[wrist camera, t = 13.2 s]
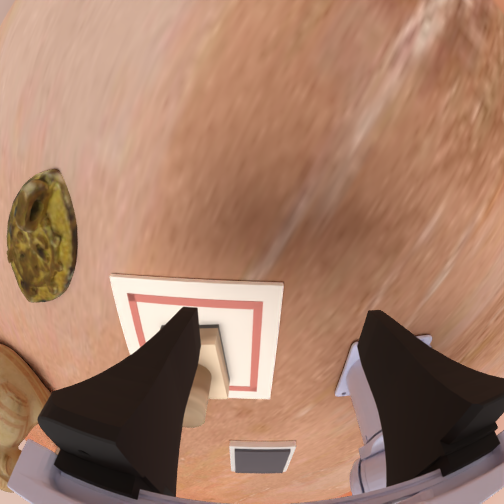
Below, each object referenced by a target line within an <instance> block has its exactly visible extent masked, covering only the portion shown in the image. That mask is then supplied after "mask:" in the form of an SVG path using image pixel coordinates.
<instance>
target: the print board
mask: <svg viewBox="0 0 504 504" xmlns="http://www.w3.org/2000/svg"><path fill="white" fill-rule="evenodd" d="M109 277H110V282H111V286H112V291H113V295H114V299H115V303H116V307H117V311H118V315H119V319H120V322H121V326H122V330H123V333H124V336H125V340H126V343H127V346H128V349H129V353H130V355H131V354H133V353H134V352H135V351H137V350H138V349H139V348H140V347H141V346H143V345H144V344H145V343H146V342H147V341H148V340H150V339H151V338H152V337H153V336H154V335H155V334H156V333H157V332H158V331H159V330H160V328H161V326H162V325H165V324H166V323H167V322H168V321H169V320H170V319H171V318H172V317H173V316H174V315H175V314H176V313H177V312H178V311H179V310H180V309H181V308H182V307H196V308H198V318H199V325H212V324H219V328H220V334H221V339H222V344H223V349H224V354H225V358H226V363H227V368H228V373H229V377H230V384H229V394H228V398H245V399H270V395H271V388H272V380H273V373H274V365H275V357H276V349H277V341H278V333H279V324H280V315H281V306H282V297H283V287H284V285H283V282H252V281H227V280H205V279H186V278H168V277H152V276H137V275H124V274H111V275H110V276H109Z"/></svg>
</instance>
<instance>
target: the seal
mask: <svg viewBox="0 0 504 504" xmlns="http://www.w3.org/2000/svg"><path fill="white" fill-rule="evenodd" d="M7 247H8V251H7V255H8V257H7V258H8V262H9V263H10V262H11V266H12V269H13V271H14V274H15V277H16V280H17V282H18V285H19V287H20V289H21V291H22V293H23V294H24V296H25V297H26V299H27V300H28V301H29V302H46V301H51V300H54V299H56V298H57V297H59V296H61V295H62V294H63V293H64V292H65V291H66V290H67V288H68V286H69V283H70V281H71V278H72V276H73V273H74V270H75V264H76V252H77V225H76V218H75V213H74V209H73V205H72V201H71V198H70V195H69V192H68V189H67V186H66V184H65V181H64V179H63V177H62V175H61V173H60V171H58V170H57V169H51V170H47V171H44V172H41V173H39V174H36V175H35V176H33V177H32V178H31V179H29V180H28V181H27V182H26V183H25V184H24V185H23V186H22V188H21V190H20V191H19V193H18V194H17V196H16V198H15V200H14V202H13V205H12V208H11V212H10V216H9V220H8V231H7Z"/></svg>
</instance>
